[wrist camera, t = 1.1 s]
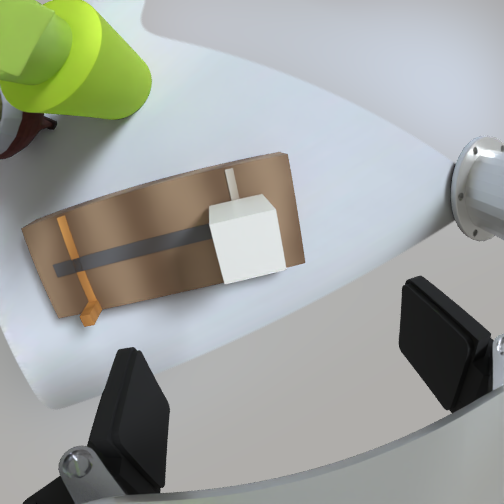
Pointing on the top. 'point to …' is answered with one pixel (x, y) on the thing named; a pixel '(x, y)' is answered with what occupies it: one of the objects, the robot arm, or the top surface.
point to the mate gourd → (19, 127)
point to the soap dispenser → (68, 61)
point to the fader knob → (246, 238)
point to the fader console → (153, 236)
